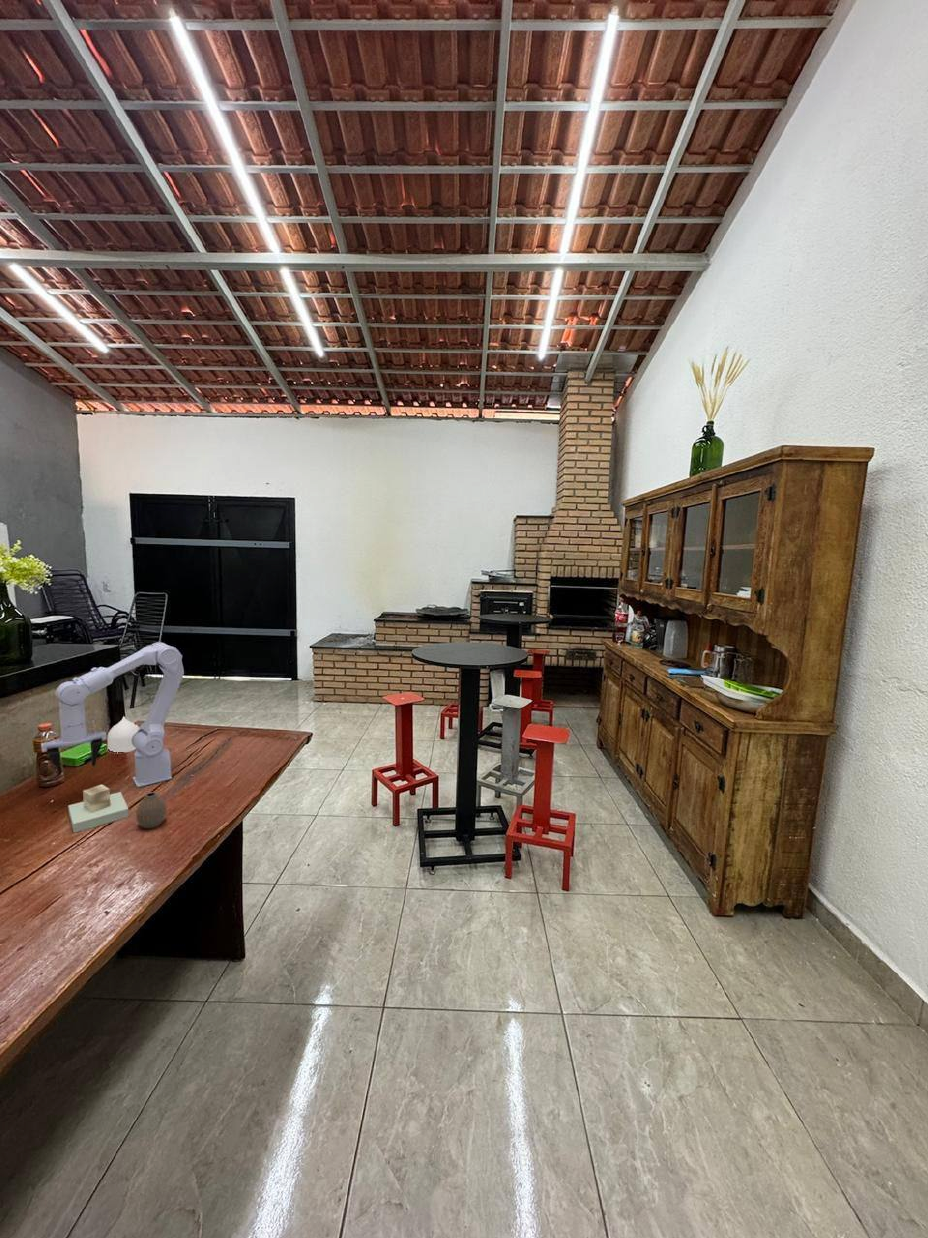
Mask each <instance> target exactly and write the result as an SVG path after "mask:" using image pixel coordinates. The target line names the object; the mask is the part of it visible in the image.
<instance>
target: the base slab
mask: <svg viewBox="0 0 928 1238" xmlns="http://www.w3.org/2000/svg"><path fill="white" fill-rule="evenodd" d="M110 803H111V806H109V807H106V808H103V809H101V810H98V811H95V812H93V813H91V812H90V811H88V810H87V809H85V808H84V801H80V802H76V803H73V804H69V805H67V806H68V807H67V808H68V815H69V820H70V823H71V827H72V831H73V834H75V833H79V832H82V831H86V830H89V829H92V828H96V827H100V826H103V825H106V824H109V823H113V822H116V821H120V820H124V819H127V818H129V817H130V814H129V813H130V812H129V807H128V805H127V803H126V799H124V796H123V794H122V792H121V791H119V792H116V793H115V792H114V793H112V794H111V793H110Z"/></svg>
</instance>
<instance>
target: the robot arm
mask: <svg viewBox="0 0 928 1238" xmlns="http://www.w3.org/2000/svg"><path fill="white" fill-rule="evenodd" d="M182 659H183V654H181V652H180V651H179V649H177V647H174V646H171V645H168V644H166V643H165V642H162V641H158V642H154V643H152V644H151V645H147V646H145V647H143V648H141V649H140V650H138V651H136V652H134V653H133V654H131V655H129V656H127V657H125V658H123V659H122V660H120V661H118V662H116V663H114V664H113V665H111V666H108V667H103V666H99V667H92V668H91V669H90V671H89V672H88V673H85V674H83V675H81V676H78V677H74V678H72V680H70V681H65V682H62V683H61V684H59V685H58V686H57V688H56V691H55V692H54V694H55V695H54V696H56V698H57V699H58V700H59V701H58V707H59V709H58V710H59V711H58V712H59V713H58V715H59V725H60V726H59V727H60V734H61V735H60V736H61V738H57V739H54V740H49V741H46V742H41V743H40V747H41V752H42V753H45V752H46V753H47V755H48V756H49V758H50V759H51V760H52V762H53V763H54V765H55V767H56V770H57V773H58V774H59V775H60V774H62V766H61V758H60V750H59V749H60V748H66V747H71V746H76V745H82V744H86V743H87V744H88V743H90V755H91V756H90V757H91V758H90V761H91V762H90V763H91V766H92V767H94V766H95V767H96V764H97V763H96V761H97V758H98V754H99V752H100V750H101V748H102V747H103V741H105V740H107V732H106V731H100V732H90V733H89V732H87V719H86V706H85V700H86V698H87V697H88V696H90V695H92V694H94V693H96V692H98V691H100V690H102V689H103V688H105V687H107V686H109V685H111V684H113V682H114V679H116V678H117V677H118V676H120V675H123V674H125V673H127V672H129V671H132V670H134V669H136V668H138V667H140V666H142V665H148V666H149V665H150V666H156V665H157V666H158V667H159V669H160V670H161V671H162V673H163V676H162V678H161V680H160V683H159V686H158V688H157V690H156V691H157V692H156V694H155V696H154V699H153V702H152V704H151V706H150V709H149V711H148V714H147V717H146V719H145V721H144V722H142V723H141V724H140V726H139V730H138V731H137V732H136V733H135V734H134V735H133V737H132V745H133V746H134V747H136V750H135V752H134V767H135V768H134V770H135V776H133V777H132V780H133V781H134V784H135V785H136V787H137V788H141V787H145V786H148V785H153V784H157V783H160V782H164V781H168V780H172V778H173V776H172V760H171V754H170V751H169V749H168V748H164V737H165V734H166V733H165V732H166V731H165V723H166V721H167V718H168V715H169V713H170V710H171V708H172V705H173V703H174V700H175V697H176V695H177V692H178V689H179V687H180V684H181V683H182V680H183V676H184V674H185V670H184V665H183V662H182V661H183V660H182ZM163 748H164V749H163Z"/></svg>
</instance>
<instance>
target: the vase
mask: <svg viewBox="0 0 928 1238" xmlns="http://www.w3.org/2000/svg"><path fill="white" fill-rule="evenodd" d="M167 811H168V810H167V804H166V802H165V800H164V799H162V798H161V797H160V796H159V795H157V793H156V792H153V791H152V792H148V793H146V794H145V795H144V798H143V799H141V802H140V803H139V805H138V806H137V809H136V812H135V813H136V815H135V817H136V820H137V823H138V825H139V826H141V827H142V828H144V829H154V828H156V827H159V826H160V825H161V824H162V823H163V822H164V821H165V819H166V816H167Z"/></svg>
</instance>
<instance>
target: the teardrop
mask: <svg viewBox="0 0 928 1238" xmlns="http://www.w3.org/2000/svg"><path fill="white" fill-rule="evenodd" d="M135 724H136V723H134V722H132V721H130V720H129V719H127V718H126V717H125V716H123V717H122V719H121V720H120V721H118V722H117V723H116V724H115V725H113V726H112V727H111V729H110V730H109V732H108V734H107V750H108V749H109V750H110V751H113V752H117V753H116V754H119V753H118V752H124V753H128V752H129V753H130V752H133V751H136V750H135V749H136V747H134V746H133V745H132V737H133V735H134V734H135V733H136V732H137V731H138V730H139V728H140V726H139V725H137V724H136V725H135Z"/></svg>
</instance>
